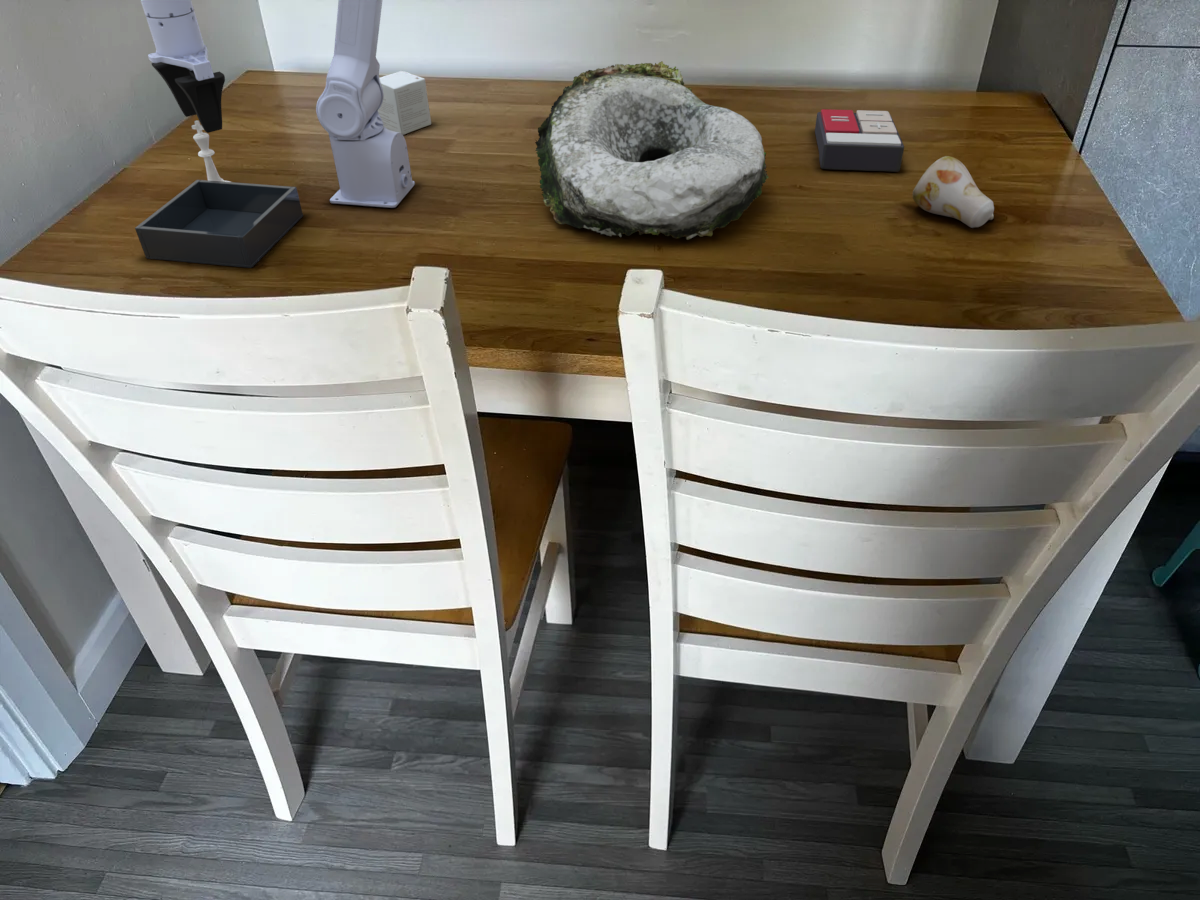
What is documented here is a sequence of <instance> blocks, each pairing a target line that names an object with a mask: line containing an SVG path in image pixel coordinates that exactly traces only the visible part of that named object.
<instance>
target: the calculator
mask: <svg viewBox="0 0 1200 900" xmlns="http://www.w3.org/2000/svg"><path fill="white" fill-rule="evenodd" d="M815 119H816V120H815V127H814V134H815V139H816V140H815V141H816V144H817V149H818V161H819V166H820V169H822V170H836V171H837V170H838V171H866V172H892V173H893V172H896V173H897V172H900V171H901V166H902V162H903V161H902V160H903V155H904V151H905V145H904V143H903V140H902V138H901V136H900V133H899V131H898V129H897V126H896V124H895V122H894V119H893V117H892V115H891V114H890V112H889V111H888V110H865V109H864V110H861V109H858V110H856V112H854V110H853V109H832V108H831V109H830V108H829V109H828V108H827V109H826V108H823V109H821V110H820V111H818V112H817V113H816V117H815Z"/></svg>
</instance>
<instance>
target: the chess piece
mask: <svg viewBox="0 0 1200 900" xmlns="http://www.w3.org/2000/svg"><path fill="white" fill-rule="evenodd" d="M193 122H194V124H192V125H191V130H196V133H195V134H194V135H193V137H192V139H193V140H194V142H195V143H196V145H197V146H198V148H199V149H200V150H199V151H198V152H197V155H198V157H200V158H203V161H204V165H205V172H206V178H207V180H208V181H222V182H231V181H230V180H226V179H225V180H224V178H222V177H221V176H220V175H219V172H218V169H217V168H216V165H215V163H214V161H213V158H212V156H214V155H215V153H216V152H215V151H214V149H212V148H210V135H209V134H210V133H207V132H203V131H205V130H204V129H203V127H202V125H201V123H200V121H199V119H198V120H194V121H193Z"/></svg>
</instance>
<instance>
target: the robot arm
mask: <svg viewBox="0 0 1200 900" xmlns="http://www.w3.org/2000/svg"><path fill="white" fill-rule="evenodd" d="M337 1H338V2H337V12H336V24H335V38H334V47H333V48H334V49H333V56H332V59H331V63H330V65H329V68H328V71H327V74H326V79H325V86H324V90H323V92H321V94H320V96H319V97H318V99H317V102H316V106H315V113H316V117H317V120H318V122H319V124H320V126H321V127H322V128H323V129H324V130H325V131H326V133H328V138H329V143H330V147H331V152H332V153H331V154H332V157H333V161H334V166H335V171H336V176H337V180H338V181H337V182H338V185H339V189H338V190H337V191H336V192H335V193H334V194H333V196H331V197H330V199H329V202H330V203H331V204H335V205H336V204H338V205H350V206H360V207H361V206H363V207H374V208H375V207H376V208H387V209H388V208H390V209H394V208H397V206H398V205H399V204H400V203H401V202H402V201H403V200H404V198H405V197H406V196H407V195H408V194H409V192H410V191H411V190H412V189H413V187H415V185H416V182H415V180H413V176H412V170H411V163H410V158H409V151H408V146H407V141H406V138H405V136H404V135H402V134H401V133H399V132H395V131H391V130H389V129H387V128H385V127H384V126H383V122H382V119H381V117H380V115H379V113H378V111H377V110H378V109H379V108H380V107H381V105H382V102H383V97H384V95H383V88H382V85H381V83H380V79H379V78H380V67H381V64H380V62H379V60H378V59H377V51H378V42H379V33H380V26H381V25H380V24H381V15H382V7H383V0H337ZM140 4H141V7H142V10H143V13H144V16H145V19H146V22H147V25H148V29H149V32H150V35H151V37H152V41H153V44H154V47H155V52H152V53H149V54H147V58H148V61H150V62H151V66H152V67H153V68H154V70H155V71H156V72H157V73H158V74H159V75H160V77H161V79H163V81H164V82H165V84H166V85H167V87H168V88H169V90H170V92H171V93H172V96H173V97H174V99H175V101H176V103H177V105H178V107H179V109H180V110H181V112H182V114H183V115H184V117H186V118H189V117H193V116H197V119H198V120H199V122H200V125H202V127H203V129H204V130H203V131H204V133H207V134H210V133H214V132H217V131H220V130H223V112H222V111H223V110H222V98H223V97H222V96H223V89H224V85H225V82H226V77H225V74H224V73H223V72H221V71H216V72H213V68H212V64H211V61H210V60H209V50H208V47H207V45H206V44H205V42H204V38H203V35H202V32H201V28H200V25H199V21H198V18H197V14H196V10H195V8H194V4H193V1H192V0H140Z"/></svg>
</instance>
